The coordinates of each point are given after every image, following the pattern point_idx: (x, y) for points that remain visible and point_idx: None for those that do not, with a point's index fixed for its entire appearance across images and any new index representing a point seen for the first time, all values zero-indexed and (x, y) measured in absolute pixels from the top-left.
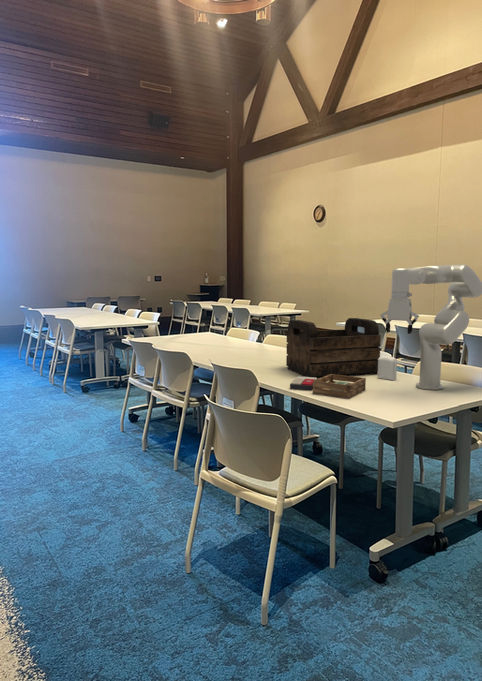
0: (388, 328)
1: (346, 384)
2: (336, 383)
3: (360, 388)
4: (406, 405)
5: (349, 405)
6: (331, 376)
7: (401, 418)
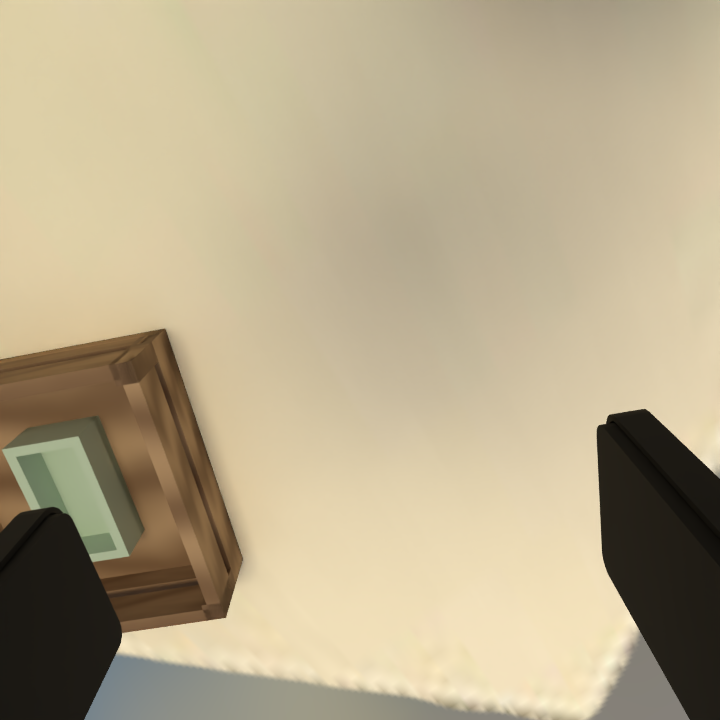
0: (69, 707)
1: (98, 475)
2: (38, 496)
3: (184, 427)
4: (541, 482)
5: (322, 645)
6: None
7: (603, 667)
